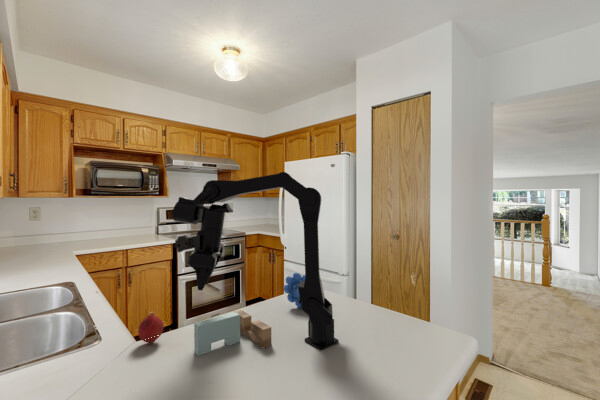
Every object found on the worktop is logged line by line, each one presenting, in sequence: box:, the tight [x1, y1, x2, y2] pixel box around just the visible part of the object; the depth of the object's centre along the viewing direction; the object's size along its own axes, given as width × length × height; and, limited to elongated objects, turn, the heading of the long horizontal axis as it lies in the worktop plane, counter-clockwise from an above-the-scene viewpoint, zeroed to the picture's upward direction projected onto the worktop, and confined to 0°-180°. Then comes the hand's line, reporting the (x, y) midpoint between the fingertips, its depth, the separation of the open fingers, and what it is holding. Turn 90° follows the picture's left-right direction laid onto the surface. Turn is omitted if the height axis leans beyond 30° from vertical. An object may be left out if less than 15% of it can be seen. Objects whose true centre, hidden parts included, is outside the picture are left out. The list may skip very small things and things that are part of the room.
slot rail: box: [234, 309, 272, 349], centre depth 79 cm, size 16×2×4 cm, turn 39°
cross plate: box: [193, 311, 241, 357], centre depth 73 cm, size 2×11×7 cm, turn 129°
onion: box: [137, 311, 165, 344], centre depth 75 cm, size 6×6×8 cm
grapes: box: [283, 272, 305, 309], centre depth 99 cm, size 12×7×12 cm, turn 85°
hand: (203, 284), depth 78 cm, fingers open, 9 cm apart
